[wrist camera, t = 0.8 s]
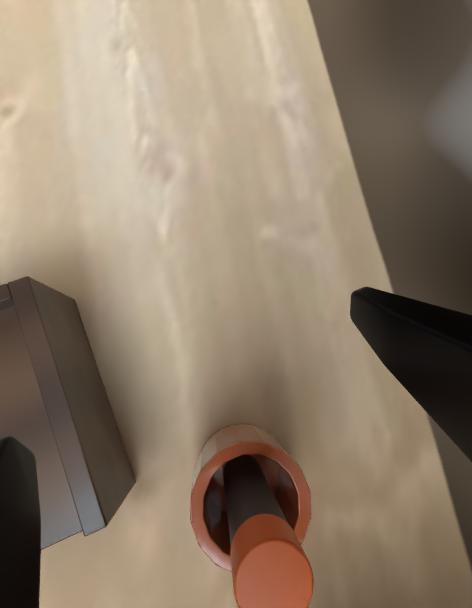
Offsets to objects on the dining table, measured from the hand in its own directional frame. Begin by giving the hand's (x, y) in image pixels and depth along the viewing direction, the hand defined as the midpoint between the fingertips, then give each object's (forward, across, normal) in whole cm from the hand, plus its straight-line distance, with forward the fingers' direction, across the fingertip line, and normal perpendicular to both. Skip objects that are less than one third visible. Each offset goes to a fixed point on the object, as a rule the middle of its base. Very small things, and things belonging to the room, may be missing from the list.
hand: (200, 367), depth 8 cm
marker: (+3, 0, +14) cm, 14 cm away
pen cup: (+4, 0, +14) cm, 15 cm away
